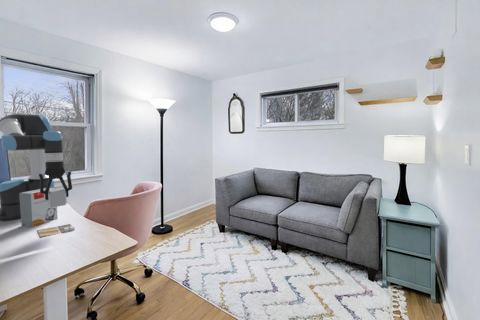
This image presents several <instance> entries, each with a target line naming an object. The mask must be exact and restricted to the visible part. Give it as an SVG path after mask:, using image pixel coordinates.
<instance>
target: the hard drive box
mask: <svg viewBox="0 0 480 320" xmlns="http://www.w3.org/2000/svg"><path fill="white" fill-rule="evenodd" d="M45 189H46V188H44V191H45ZM55 189H57V188H55V187H54V188H50V189H49V190H55ZM48 193H49V192H48ZM19 197H20V211H21V218H20V223H21V227H27V228H34V227H36V226H38V225H42V224H46V223H48V222H51V221H55V220H58V219H59V218H58V206H57V207H51V206H48V200H46V199H45V194H44V193H40V189H38V190H33V191H27V192H22V193H19Z"/></svg>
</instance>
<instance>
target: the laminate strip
mask: <svg viewBox="0 0 480 320" xmlns="http://www.w3.org/2000/svg"><path fill="white" fill-rule="evenodd" d="M72 226H73V225H72V224H70V223H68V224H63V225H59V226H56V227H57V229H58V230H59V232H60V234H62V233H63V234H64V233H67V232H71V231H73V230H71V231H70V227H72ZM67 227H68V228H69V231H67V232H65V231H64V228H67Z"/></svg>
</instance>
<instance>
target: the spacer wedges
mask: <svg viewBox="0 0 480 320" xmlns="http://www.w3.org/2000/svg"><path fill="white" fill-rule="evenodd" d="M71 226H72V227H70V231H69V228H68V227H67V228H64V231H65V232H64V233H67V231H68V232H71V230H72V231H76V228H75V226H74V225H71Z"/></svg>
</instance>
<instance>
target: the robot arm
mask: <svg viewBox="0 0 480 320" xmlns="http://www.w3.org/2000/svg"><path fill="white" fill-rule="evenodd" d="M0 132H1V133H3V135H2V136H1V137H0V138H1V139H0V141H1V149H2V150H4V151H13V152H14V151H29V164H30V175H29V176H28V177H27V178H28V179H27V180H25V179H24V178H19V179H16V178H15V179H12V180H7V181H3V182H0V220H2V221H5V222H6V221H14V220H19V219H21V211H20V197H19V193H22V192H27V191H33V190H38V189H40V193H44V194H45V199H46V200H48V206H51V201H50V193H48V192H49V189H50V188H55V179H58V180H59V181H60V183H61V185H62V187H63V189H64V190H65V202H66V204H68V203H67V198H68V197H69V191H71V190H73V184H72V179H71V176H72V172H71V171H67V170H65V164H64V161H63V160H64V152H63V136H62V132H61V131H56V130H55V131H54V130H52V126H51V122H50V119H49V118H48V117H47V116H46V115H39V114H38V115H37V114H19V113H13V114H8V115H6V116H3V117H2V118H0ZM64 175H66V179H67V184H66V182H65V180H64V178H63V176H64ZM67 185H68V186H67ZM44 188H46V189H45V191H44Z"/></svg>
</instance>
